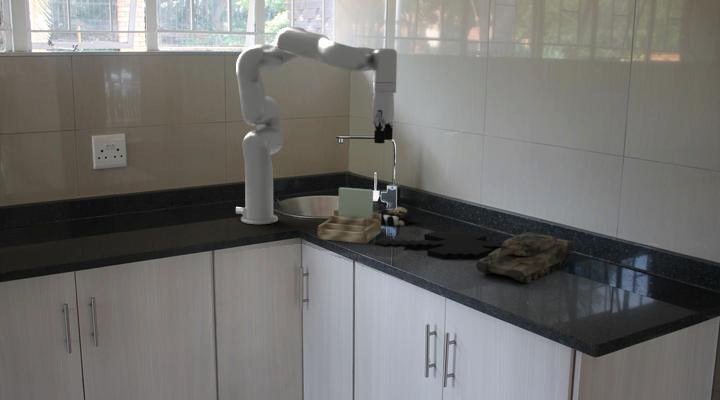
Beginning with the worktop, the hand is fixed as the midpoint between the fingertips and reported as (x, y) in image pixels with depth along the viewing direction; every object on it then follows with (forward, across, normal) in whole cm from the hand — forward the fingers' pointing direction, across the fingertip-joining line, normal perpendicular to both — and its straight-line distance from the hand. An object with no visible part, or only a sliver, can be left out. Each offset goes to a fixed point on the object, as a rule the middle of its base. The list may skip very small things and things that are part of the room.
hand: (383, 141), depth 262 cm
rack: (+30, +11, -8) cm, 33 cm away
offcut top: (+26, +11, -7) cm, 29 cm away
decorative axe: (+31, +11, +23) cm, 40 cm away
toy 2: (+31, +32, +48) cm, 66 cm away
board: (+29, +6, -8) cm, 31 cm away
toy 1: (+31, -13, +1) cm, 33 cm away
